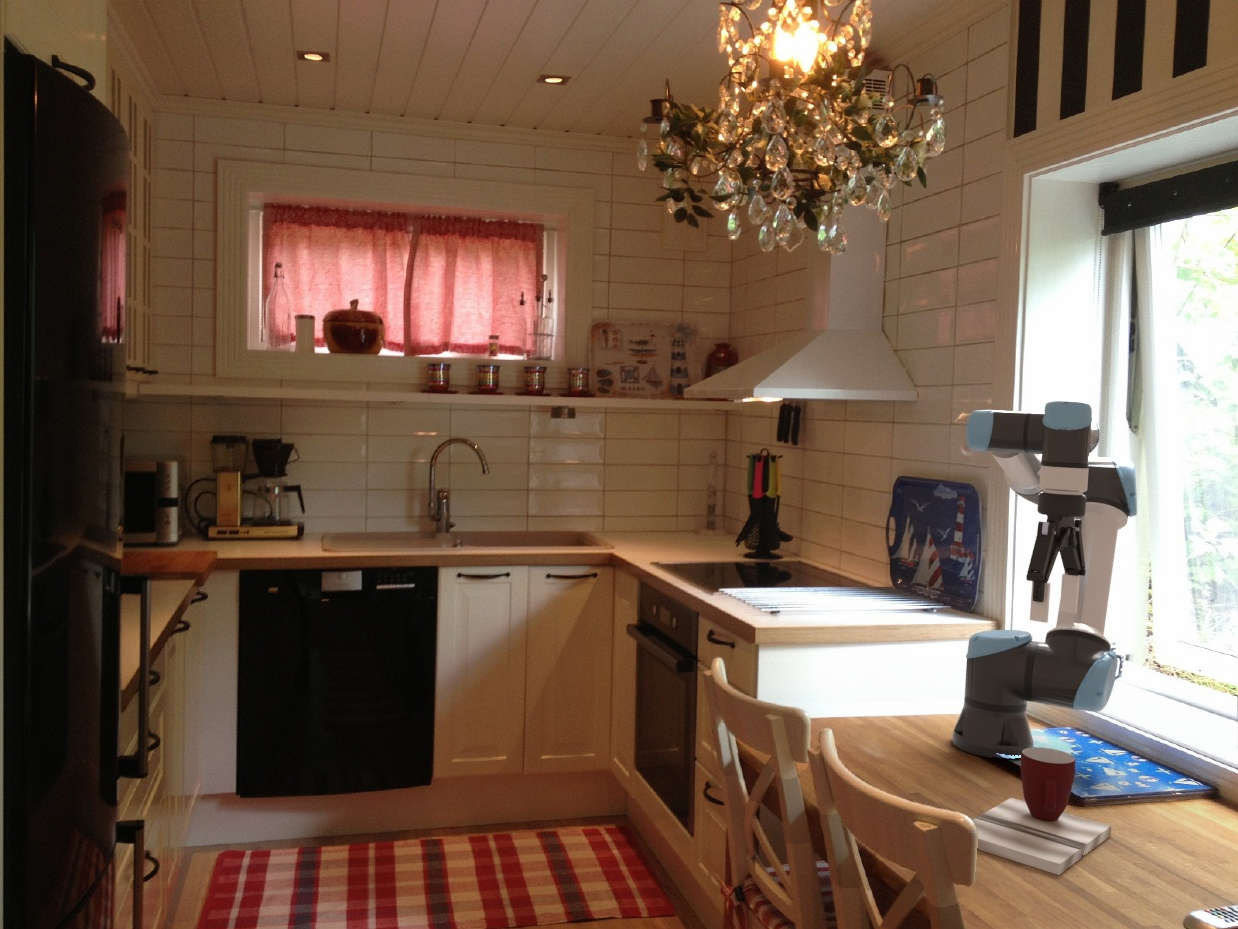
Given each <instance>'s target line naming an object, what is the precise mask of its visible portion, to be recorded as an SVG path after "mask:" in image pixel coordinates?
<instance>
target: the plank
mask: <svg viewBox="0 0 1238 929" xmlns="http://www.w3.org/2000/svg"><path fill="white" fill-rule="evenodd" d="M980 817H982V818H986V819H989V820H992V821H996V822H999V823H1002V824H1006V825H1009V826H1012V827H1016V828H1019V829H1022V830H1026V831H1029V832H1033V833H1036V834H1039V835H1043V836H1046V837H1049V838H1053V839H1056V840H1059V841H1063V842H1066V843H1069V844H1073V845H1076V846H1079V847H1082V851H1081V856H1082V855H1083V856H1082V857H1085V856H1087V854H1088V852H1089V853H1090V852H1091V851H1092V849H1093V850H1094V849H1095V848H1096V847H1098V846H1099V845H1100V844H1102V843H1103V842H1104V841H1106V840H1107V839H1108V838H1110V837H1111V835H1112V825H1111V824H1107V823H1103V822H1100V821H1097V820H1093V819H1089V818H1085V817H1081V816H1079V815H1078V816H1077V815H1075V814H1072V813H1067V812H1065V811H1063V813H1062V814H1061V816H1060V817H1059V819H1058V820H1056V821H1042V820H1039V819H1036V818H1034V817H1033V816H1032V815H1031V813H1030V811H1029V809H1028V807H1027V804H1026V802H1025V800H1021V799H1017V798H1014V797H1009V798H1008V799H1006V800H1005V801H1003V802H1001V803H999V804H998V805H996V806H994V807H993V808H990V809H989V810H986V812H983V813H981V814H980ZM1084 855H1085V856H1084Z"/></svg>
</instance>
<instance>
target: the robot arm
mask: <svg viewBox="0 0 1238 929" xmlns="http://www.w3.org/2000/svg"><path fill="white" fill-rule="evenodd" d="M967 418H968V419H967V422H966V426H965V427H966V429H965V430H966V431H965V439H966V440H965V441H966V444H967V447H968V448H969V449H970V450H972V451H978V452H982V453H985V452H989V453H990V454H991V455H992V457H993V458H994V459H995V461H996V462H997V463H998V465H999V467H1001V469H1002V470H1003V474H1004V479H1005V482H1006V483H1007V486H1008V487H1009V488H1010V489H1011V490H1012V491H1013V492H1014V493H1015V494H1017V495H1018V496H1019V497H1021V498H1022V499H1024V500H1026V501H1028V502H1031V503H1033V504H1035V505H1037V512H1038V514H1040V515H1043V516H1045V515H1046V521H1038V524H1037V531H1036V532H1037V533H1036V537H1035V541H1034V544H1033V545H1034V546H1033V549H1032V553H1031V558H1030V562H1029V565H1028V569H1027V573H1026V581H1028V582H1032V583H1031V597H1030V610H1029V621H1033V622H1039V623H1040V622H1041V623H1045V624H1046V623H1049V611H1050V596H1051V593H1050V592H1051V582H1049V579H1050V576H1051V574H1052V572H1053V568H1054V566H1055V563H1056V561H1057V557H1058V554H1059V555H1060V559H1061V562H1062V563H1061V564H1062V566H1063V570H1064V573H1062V576H1061V587H1060V588H1061V589H1060V599H1059V607H1058V612H1057V618H1056V624H1055V627H1053V628H1051V629H1050V630H1049V631H1047V632H1046V636H1045V640H1044V642H1043V641H1034V640H1033V636H1032V634H1031V633H1030V632H1029V631H1023V630H1019V629H1018V630H1016V629H993V630H992V629H991V630H983V631H979V632H976V633H974V634H972V635H971V636H970V638H969V640H968V645H967V653H966V655H965V657H966V670H965V684H964V685H965V686H964V699H963V700H964V702H963V707H962V708H961V712H960V713H959V716H958V718H957V721H956V723H955V726H954V728H953V732H952V740H951V741H952V742H951V743H952V745H953V746H955V747H956V748H958V749H959V750H961V751H964V752H966V753H969V754H972V755H976V756H979V757H985V758H991V759H993V758H992V755H993V754H996V753H999V754H1005V755H1011V756H1012V755H1014V756H1015V755H1018V756H1019V755H1021V752H1022V750H1023V749H1026V748H1033V747H1034V744H1035V743H1034V739H1033V734H1032V732H1031V727H1030V723H1029V720H1028V719H1029V718H1028V716H1027V706H1028V702H1030V703H1035V704H1042V705H1046V706H1048V705H1049V706H1054V707H1059V708H1065V709H1070V710H1074V711H1077V712H1079V711H1084V712H1092V713H1093V712H1094V713H1097V712H1101V711H1102V710H1104V708H1106V706H1107V704H1108V703H1109V700H1110V697H1111V695H1112V691H1113V687H1114V684H1115V680H1116V673H1117V670H1118V655H1117V654H1116V653H1115V652H1113V651H1111V642H1110V641H1109V640H1108V639H1107V638H1106V637H1105V636H1104V633H1105V627H1106V619H1107V611H1108V606H1109V605H1108V604H1109V598H1110V597H1109V596H1110V590H1111V582H1112V574H1113V566H1114V560H1115V553H1116V546H1117V540H1118V538H1117V537H1118V533H1119V530H1121V529H1123V528H1124V527H1126V526H1127V524H1128V519H1129V517H1130V518H1132V517H1136V516H1137V514H1138V501H1137V500H1138V499H1137V498H1138V497H1137V493H1138V492H1137V476H1136V467H1135V464H1134V463H1133V462H1132V461H1131V460H1130V459H1128V458H1127V459H1126V458H1119V457H1118V458H1117V457H1113V456H1109V457H1100V456H1090V453H1092V452H1093V451H1094V450H1096V447H1097V446H1098V445H1099V442H1100V440H1101V439H1100V438H1101V432H1100V431H1101V430H1100V427H1099V425H1098V423H1097V422H1096V421H1095V420H1094V417H1093V406H1092V404H1091V403H1090V402H1088V401H1080V400H1079V401H1078V400H1077V401H1076V400H1074V401H1073V400H1049V401H1048V402H1046V404H1045V406H1044V412H1042V411H1041V412H1039V411H1038V412H1037V411H1017V410H1016V411H1015V410H1014V411H1013V410H999V409H998V410H995V409H983V410H982V409H977V410H973V411H972V412H971V413H970V414H969V416H968V417H967Z"/></svg>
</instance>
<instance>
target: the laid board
mask: <svg viewBox="0 0 1238 929" xmlns="http://www.w3.org/2000/svg"><path fill="white" fill-rule="evenodd" d="M972 820H973V821H975V825H976V827H977V829H978V849H977V850H979V851H982V852H986V853H989V854H992V855H995V856H998V857H1001V858H1004V859H1007V860H1010V861H1014V862H1015V863H1019V864H1022V865H1026V866H1029V867H1032V868H1036V869H1038V870H1042V871H1044V872H1048V873H1051V874H1054V875H1057V876H1061V874H1063V873H1064V872H1065V871H1067V870H1069V869H1070V868H1071V867H1072V866H1073V865H1075V862H1076V863H1077V862H1078V861H1079V860H1081V859H1082V855H1081V851H1082V847H1079V846H1076V845H1073V844H1069V843H1066V842H1063V841H1059V840H1056V839H1053V838H1049V837H1046V836H1043V835H1039V834H1036V833H1033V832H1029V831H1026V830H1022V829H1019V828H1016V827H1012V826H1009V825H1006V824H1002V823H999V822H996V821H992V820H989V819H986V818H982V817H981V816H979V815H977V816H976V817H975V818H973V819H972ZM1066 869H1067V870H1066Z"/></svg>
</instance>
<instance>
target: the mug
mask: <svg viewBox="0 0 1238 929" xmlns="http://www.w3.org/2000/svg"><path fill="white" fill-rule="evenodd" d="M1076 761H1077V760H1076V758H1075V756H1074V755H1072V754H1070V753H1068V752H1065V751H1062V750H1059V749H1054V748H1047V747H1036V746H1035V747H1034V746H1033V748H1026V749H1023V750H1022V752H1021V759H1020V775H1021V784H1022V793H1023V799H1024V801H1025V802H1026V804H1027V807H1028V809H1029V811H1030V813H1031V815H1032V816H1033V817H1034V818H1036V819H1039V820H1042V821H1056V820H1058V819H1059V817H1060V816H1061V814H1062V813H1063V812H1065V810H1066V808H1067V807H1068V803H1069V800H1070V796H1071V793H1072V790H1073V789H1072V788H1073V785H1074V780H1075V777H1076V776H1075V775H1076Z"/></svg>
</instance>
